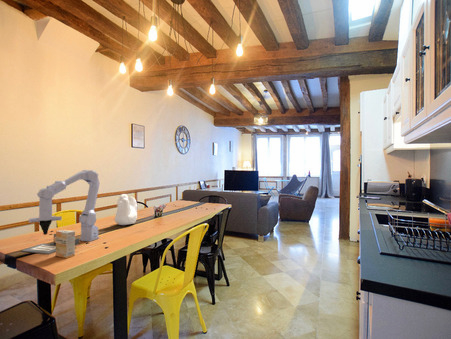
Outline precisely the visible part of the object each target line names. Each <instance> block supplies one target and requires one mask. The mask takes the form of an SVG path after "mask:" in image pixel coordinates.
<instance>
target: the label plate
mask: <svg viewBox="0 0 451 339" xmlns="http://www.w3.org/2000/svg"><path fill="white" fill-rule="evenodd" d="M21 252H24V253H33V254H43V255H51V254H53V253H56V245H53V244H50V243H40V244H36V245H34V246H30V247H27V248H24V249H21Z"/></svg>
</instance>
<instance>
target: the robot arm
mask: <svg viewBox="0 0 451 339" xmlns="http://www.w3.org/2000/svg"><path fill="white" fill-rule="evenodd" d="M80 180H82V181H84V182H87V184H88V185H89V187H88V190H87V197H86V202H85V207H84V209H83V211H81V215H80V216H79V217H78V221H79V223H80V238H78V239H79V242H80V241H81V242H93V241H94V240H97V239H100V237H99V227H98V226H97V225H95V224H96V222H97V213H96V212H95V208H96V202H97V198H98V193H99V188H100V180H99V174H98V173H97V172H96V170H94V169H93V170H92V169H90V170H89V169H83V170H81V171H78V172H77V173H74V174H73V175H72V176H69V177H68V178H67V179H64V180H63V181H62V180H55V181H54V182H53V183H52V184H50V185H47V186H46V187H44V188H43V187H42V188H41V189H39V191H38V192H37V197H38V198H39V201H38V202H39V204H38V205H39V206H38V208H39V209H38V211H39V212H38V213H39V214H38V217H30V218H29V219H28V223H29V224H30V223H38V224H39V226H40V227H41V230H42V233H43V236H44V235H45V236H46V235H48V231H49V228H50V226H51V224H52V222H53V221H62V216H60V215H59V216H53V198H54V196H55V195H57V194H59V193H60V192H62V191H64V190H66V188H67V187H68V186H69V185H72V184H73V183H76V182H77V181H80Z"/></svg>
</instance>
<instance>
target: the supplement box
mask: <svg viewBox="0 0 451 339" xmlns="http://www.w3.org/2000/svg"><path fill="white" fill-rule="evenodd" d="M55 234H56V252H55V257H59V258H64V259H69V258H71V257H75V256H76V245H75V238H76V231H75V230H71V229H70V230H69V229H66V228H65V229H59V230H56V231H55Z"/></svg>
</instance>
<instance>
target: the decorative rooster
mask: <svg viewBox="0 0 451 339" xmlns="http://www.w3.org/2000/svg"><path fill="white" fill-rule="evenodd" d="M116 204H117V206H116V207H117V208H116V213H115V216H114V223H116V224H117V225H119V226H120V225H121V226H126V225H131V224H135V223H136V221H137V219H138V207H139V206H138V202H137V200H136V198H135V197H134V196H128V194H126V193H122V194H121V195H120V196H119V199H118V200H117V202H116Z"/></svg>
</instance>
